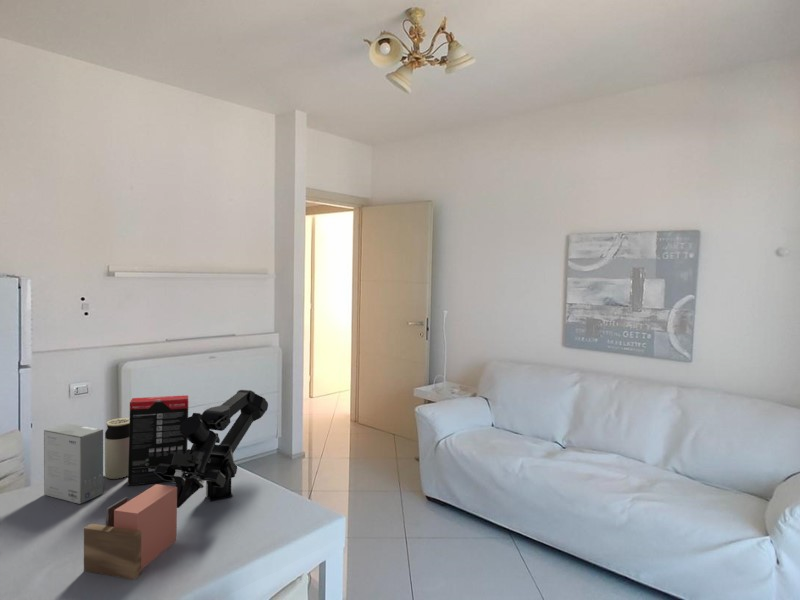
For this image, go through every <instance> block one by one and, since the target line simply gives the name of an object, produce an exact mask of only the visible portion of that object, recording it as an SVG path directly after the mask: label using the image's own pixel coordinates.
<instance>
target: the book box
mask: <svg viewBox="0 0 800 600" xmlns="http://www.w3.org/2000/svg"><path fill="white" fill-rule="evenodd" d="M177 509H178V508H177V487H176V486H173V485H165V484H157V483H156V484H154V485H152V486H151V487H149V488H147V489H146V490H144V491H142V492H141V493H139V494H138V495H136V496H134V497H133V498H131V499H130V500H128V502H127V503H125V504H123V505H122V506H120V507H119V508H117V509H115V510H114V527H117V528H124V529H131V530H138V531H141V571H142V570H143V569H144V568H146V566H148V565H149V564H150V563H151V562H153V561H154V560H155V559H156V558H157V557H158V556H160V555H161V554H162V553H163V552H164V551H166V549H168V548H170V547H171V546H172V545H173V544H174V543H175V542H176V541H177V532H178V531H177V528H178V527H177V525H178V524H177V522H178V520H177V518H178V511H177Z"/></svg>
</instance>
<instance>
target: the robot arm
mask: <svg viewBox="0 0 800 600" xmlns="http://www.w3.org/2000/svg"><path fill="white" fill-rule="evenodd" d="M268 407H269V403H268V401H267V399H266V398H265V397H263V396H261V395H259V394H257V393H256V392H255V391H252V390H249V389H239V390H237V392H236V393H235V394H234V395H232V396H231V397H230V398H229V399H227V400H226V401H224V402H223V403H222V404H220V405H218V406H213V407H209V408H207V409H205V410H204V411H202V413H199V412H193V413H192V415H191V416H188V418H187V419H185V420H184V421H183V422H182V423H181V425H180V432H181V433H182V434H183V435H184V436H185V437H186V438H187V439H188V442H190V443H191V444H192V445H191V447H190V449H188V448H187V451H186V453H185V454H183V453H174V456H173V460H172V464H171V465H169V464H159V465H158V466H157V467H156V469H155V471H154V473H155V474H156V475H158V476H159V477H160V478H161V479H163V480H166V482H174V484H175V487H177V509H180V508H181V507H182V505H183V504H185V502H186V501H187V500H188V499H189V498H191V496H193V495H194V494H195V493H196V492H197V491H199V490H200V489H203V488H204V483H205V482H206V483H205V495H206V496H207V497H208V498H209V501H210V502H213V501H218V500H223V499H228V498H233V496H234V494H233V492H232V479H233V478H235V477H236V474H237V471H238V466H237V464H235V461H234V452H235V451H236V449H237V448H238V446H239V444H240V443H241V441H242V439H243V438H244V437H245V436H246V433H248V430H249V428H250V427H251V425H252V424H253V422H256V421H257V420H260V419H261V418H262V417H264V415H265V413H266V412H267V410H268ZM239 411H240V414H239V415H238V417H237V419H236V420H235V421H234V423H233V424H232V425H231V427H230V429H229V430H228V432H227V433H226V435H225V436H224V437H223V439H222V440H220V437H219V433H217V432H214V431H221V432H223V431H225V429H227V427H228V426H230V424H231V419H232V417H234V416H235V415H236V414H237V413H238V412H239ZM172 465H178V467H179V468H181V470H177V469H176V468H175V467H174V466H172ZM185 474H186V475H185Z"/></svg>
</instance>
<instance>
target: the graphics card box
mask: <svg viewBox="0 0 800 600" xmlns="http://www.w3.org/2000/svg"><path fill="white" fill-rule="evenodd" d="M188 417H189V395H187V394H186V395H171V396H170V395H169V396H153V397H151V396H150V397H132V398H131V400H130V402H129V419H130V427H129V464H128V476H127V484H128V485H127V486H135V485H136V486H137V485H146V484H147V485H148V484H154V483H156V484H157V483H164V482H167V481H166V480H163V479H161V478H160V477H159V476H158V475H156V474H155V473H154V471H155V469H156V467H157V466H158V465H159V464H169V465H171V464H172V460H173V456H174V453H183V454H185V453H186V451H187V450H188V442H189V440H188V439H187V438H186V437H185V436H184V435H183V434H182V433H181V432H180V425H181V423H182V422H183V421H184V420H185V419H187V418H188ZM172 466H174V467H175V468H176V469H177V470H181V468H179V467H178V465H172ZM185 475H187V474H185Z"/></svg>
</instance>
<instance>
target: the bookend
mask: <svg viewBox="0 0 800 600" xmlns="http://www.w3.org/2000/svg"><path fill="white" fill-rule="evenodd" d="M128 498H129V497H128V496H125V497H123V498H122V499H120V500H118V501H117V502H115V503H114V504H112V505H111V504H110V506H108V507H107V508H106V509H105V526H111V527H114V510H115V509H117V508H119V507H120V506H122V505H123V504H125V503H127V502H128V501H129V500H128Z"/></svg>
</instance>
